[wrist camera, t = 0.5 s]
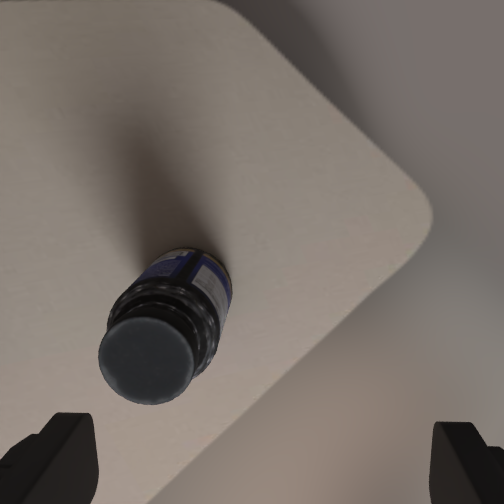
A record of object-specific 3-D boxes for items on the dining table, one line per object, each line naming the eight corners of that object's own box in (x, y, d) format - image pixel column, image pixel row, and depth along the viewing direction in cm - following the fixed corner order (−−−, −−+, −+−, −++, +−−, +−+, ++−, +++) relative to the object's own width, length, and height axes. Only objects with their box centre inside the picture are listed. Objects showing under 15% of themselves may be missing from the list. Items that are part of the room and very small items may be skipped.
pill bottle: (139, 316, 34) (72, 400, 23) (155, 235, 32) (91, 286, 22) (223, 337, 34) (194, 432, 23) (243, 257, 32) (221, 320, 22)
